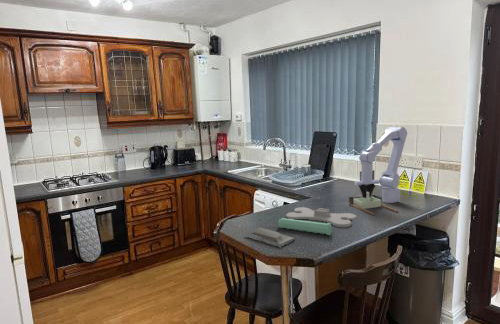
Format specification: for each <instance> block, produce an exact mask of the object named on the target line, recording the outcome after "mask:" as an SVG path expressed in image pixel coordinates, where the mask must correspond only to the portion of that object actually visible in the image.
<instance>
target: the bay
mask: <svg viewBox="0 0 500 324" xmlns="http://www.w3.org/2000/svg"><path fill="white" fill-rule="evenodd" d="M371 197H373V196H372V194H371ZM356 198H363V196H362V195H360V194H359V195H349V196H348V203H349V206H350V207H353V208H355V209H358V210H359V211H362V212H364V213H366V214H368V215H371V216H372V217H375V216H376V213H374V212H372V211H370V210H368V209H367V208H366V209H364V208H361V207H359V206H357V205H355V204H353V199H356ZM380 208H384V209H386V210H389V211H391V212H394V213H399V210H397V209H395V208H393V207H390V206H387V205H385V204H382V203H381V207H380Z"/></svg>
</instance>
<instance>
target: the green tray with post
mask: <svg viewBox="0 0 500 324" xmlns="http://www.w3.org/2000/svg"><path fill="white" fill-rule="evenodd" d="M353 204H355V205H357V206H359V207H361V208H364V209H366V210H367V209H372V208H382V207H381V204H382V199H379V198H377V197H374V196H372V197H370V198H369V192H366V198H356V199H353Z"/></svg>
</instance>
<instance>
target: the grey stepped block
mask: <svg viewBox="0 0 500 324" xmlns="http://www.w3.org/2000/svg"><path fill="white" fill-rule="evenodd" d="M253 230H254V231H253ZM253 230H252V231H253V232H252V233H251V234H254V235H257V236H260V237H262V239H265V240H268V241H271V242H274V243H276V244H280V245H281V244H283V243H286V242H288V241H291V240H293V239H295V237H293V236H292V237H291V236H288V235H285V234H282V233H280V232H278V231H275V230H271V229H267V228H263V227H257V228H255V229H253Z"/></svg>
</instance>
